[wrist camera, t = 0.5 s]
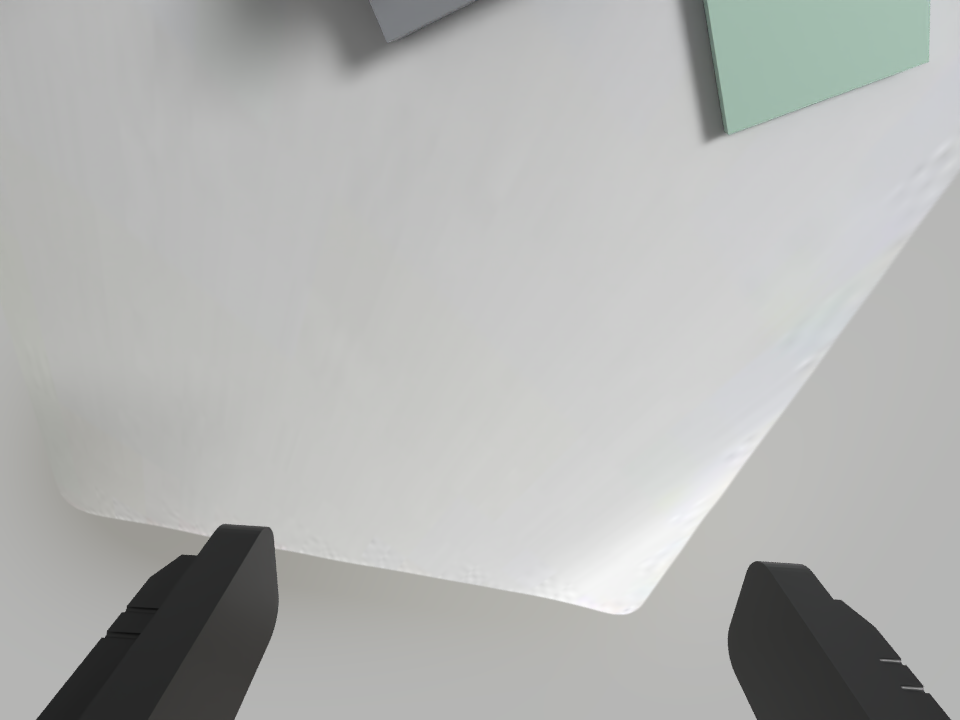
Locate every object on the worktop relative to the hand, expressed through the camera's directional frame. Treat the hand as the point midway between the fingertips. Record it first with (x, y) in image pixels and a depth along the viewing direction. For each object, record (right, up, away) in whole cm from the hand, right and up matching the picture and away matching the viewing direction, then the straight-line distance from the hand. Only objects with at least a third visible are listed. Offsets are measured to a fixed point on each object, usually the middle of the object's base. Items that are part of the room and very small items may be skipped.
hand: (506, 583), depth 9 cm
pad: (+15, +21, +16) cm, 30 cm away
